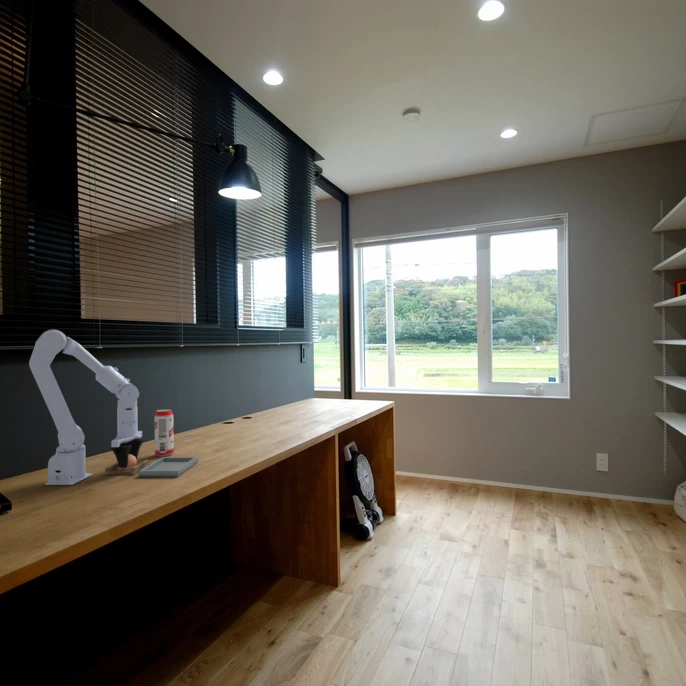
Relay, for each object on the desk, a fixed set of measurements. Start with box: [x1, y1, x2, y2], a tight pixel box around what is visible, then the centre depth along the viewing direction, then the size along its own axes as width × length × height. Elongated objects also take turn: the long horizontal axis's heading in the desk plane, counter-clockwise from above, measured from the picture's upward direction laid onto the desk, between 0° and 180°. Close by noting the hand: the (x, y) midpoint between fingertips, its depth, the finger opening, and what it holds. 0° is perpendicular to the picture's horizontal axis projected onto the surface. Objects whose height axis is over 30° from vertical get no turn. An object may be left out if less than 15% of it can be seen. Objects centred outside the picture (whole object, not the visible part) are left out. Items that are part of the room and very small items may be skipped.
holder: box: [104, 459, 150, 476], centre depth 133 cm, size 9×9×2 cm
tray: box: [138, 456, 199, 478], centre depth 134 cm, size 16×12×2 cm
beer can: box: [154, 408, 175, 458], centre depth 152 cm, size 6×6×16 cm
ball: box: [120, 454, 138, 470], centre depth 133 cm, size 5×5×5 cm
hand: (127, 464), depth 133 cm, fingers closed on ball, 5 cm apart
